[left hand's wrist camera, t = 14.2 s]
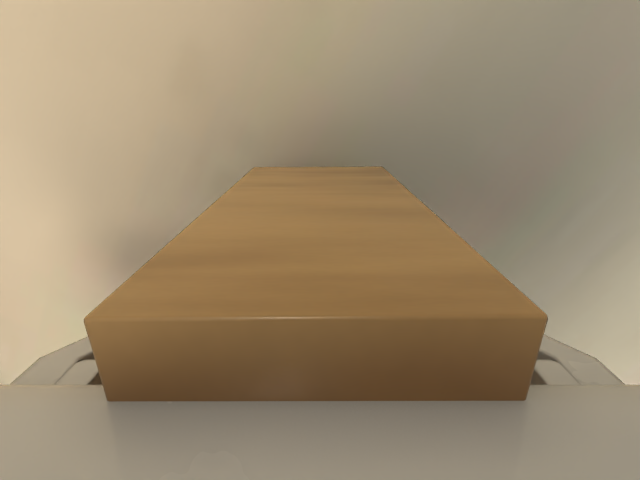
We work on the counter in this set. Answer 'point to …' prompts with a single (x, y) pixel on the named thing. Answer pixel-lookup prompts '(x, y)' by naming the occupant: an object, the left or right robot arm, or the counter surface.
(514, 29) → the counter surface
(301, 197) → the box
